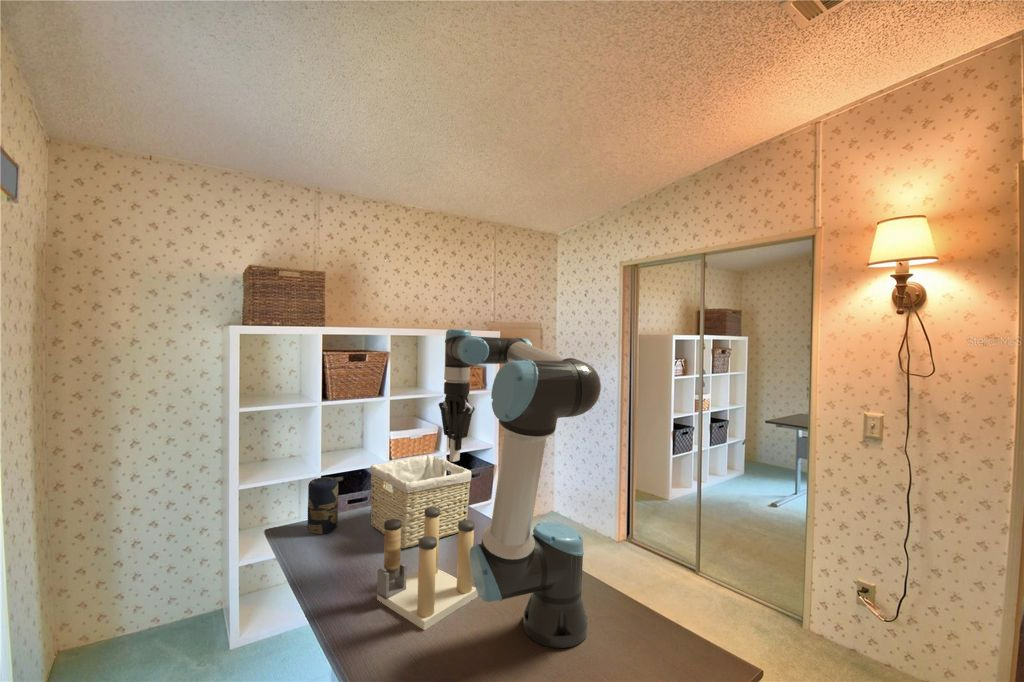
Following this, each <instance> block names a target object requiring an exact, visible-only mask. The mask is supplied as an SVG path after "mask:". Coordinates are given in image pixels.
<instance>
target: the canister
mask: <svg viewBox="0 0 1024 682" xmlns="http://www.w3.org/2000/svg"><path fill="white" fill-rule="evenodd" d="M307 486H308V488H307V489H308V490H307V493H308V495H307V531H308V532H309V533H310V534H311V533H312V534H314V535H322V534H326V533H329V532H333V531H334V530H335V529H337V527H338V518H339V516H338V515H339V512H338V509H339V507H338V506H339V480H338V479H337V478H336V477H331V476H322V477H316V478H314V479H311V480H310V481H309V483H308V485H307Z"/></svg>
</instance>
